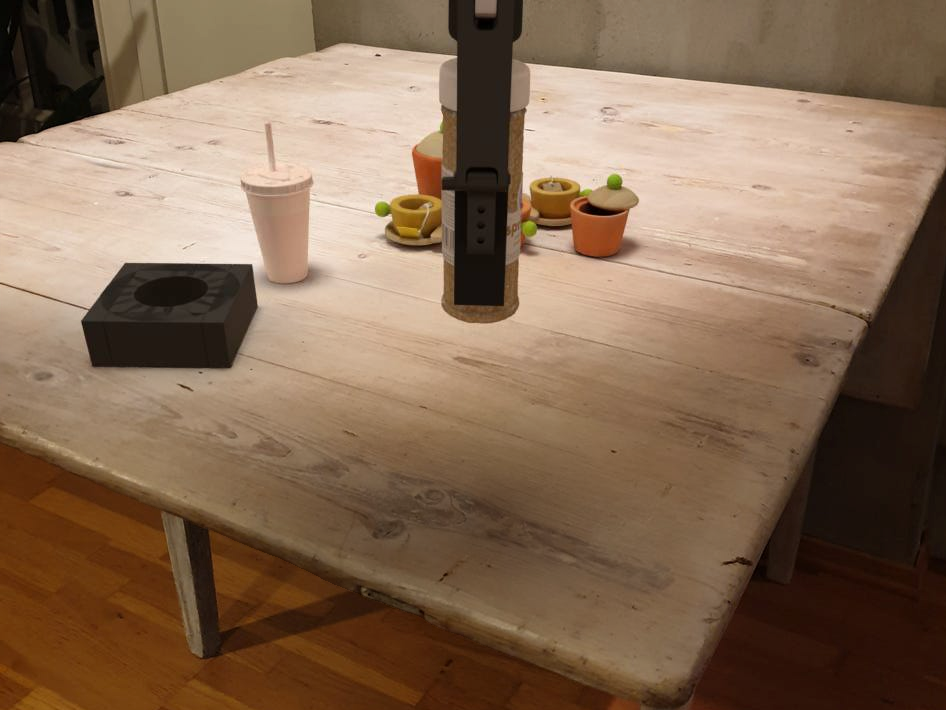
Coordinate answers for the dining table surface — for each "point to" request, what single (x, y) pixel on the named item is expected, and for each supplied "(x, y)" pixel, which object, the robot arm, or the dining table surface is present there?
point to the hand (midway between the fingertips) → (479, 281)
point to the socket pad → (171, 315)
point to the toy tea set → (550, 204)
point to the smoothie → (280, 214)
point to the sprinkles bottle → (515, 162)
